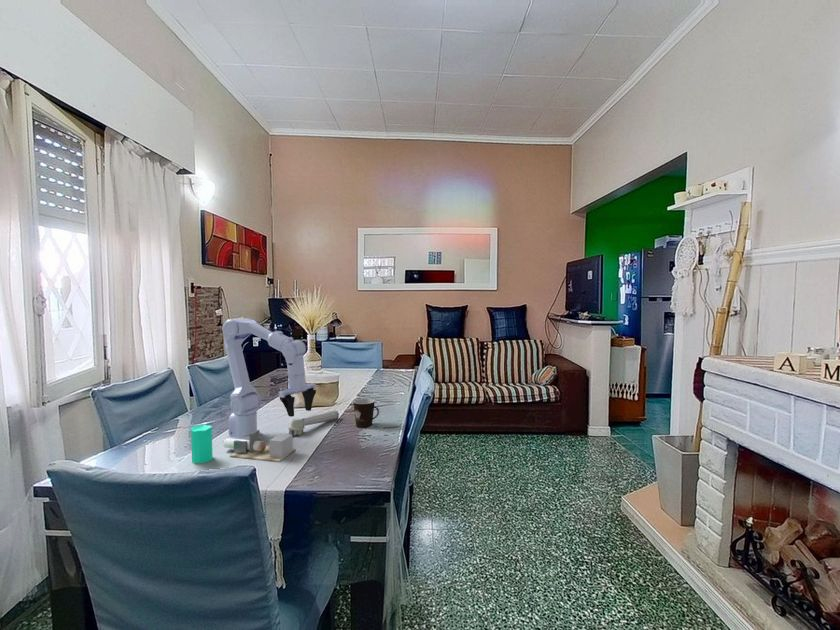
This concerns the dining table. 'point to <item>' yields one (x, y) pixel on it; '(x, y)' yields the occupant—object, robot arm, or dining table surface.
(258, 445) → the tube
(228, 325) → the robot arm
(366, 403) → the coffee mug
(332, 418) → the grey capped rod
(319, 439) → the dining table surface
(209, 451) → the candle
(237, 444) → the grey parallel plates
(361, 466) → the dining table surface
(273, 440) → the socket
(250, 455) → the board
